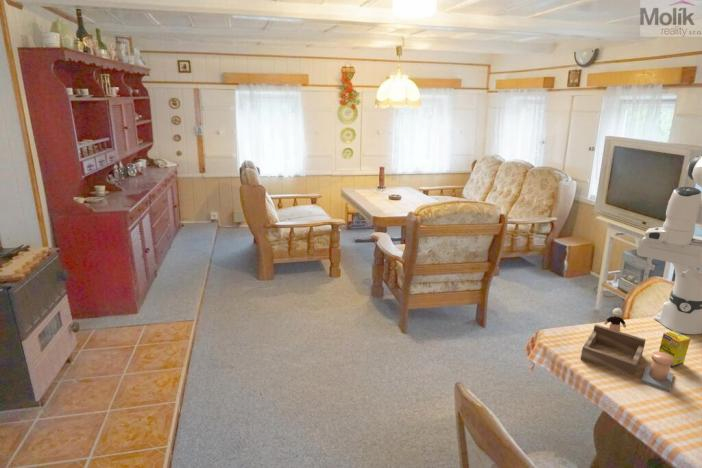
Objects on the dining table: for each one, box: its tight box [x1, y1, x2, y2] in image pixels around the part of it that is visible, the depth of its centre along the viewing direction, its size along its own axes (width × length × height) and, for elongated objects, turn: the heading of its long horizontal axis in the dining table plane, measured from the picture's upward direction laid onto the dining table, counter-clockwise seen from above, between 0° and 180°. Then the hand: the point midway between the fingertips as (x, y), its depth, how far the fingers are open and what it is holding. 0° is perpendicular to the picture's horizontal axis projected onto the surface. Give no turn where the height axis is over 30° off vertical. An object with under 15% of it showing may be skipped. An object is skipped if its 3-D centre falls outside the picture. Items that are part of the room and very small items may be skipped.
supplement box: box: [658, 330, 691, 368], centre depth 164 cm, size 6×6×11 cm
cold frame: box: [580, 323, 646, 378], centre depth 167 cm, size 17×17×7 cm
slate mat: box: [640, 364, 675, 393], centre depth 156 cm, size 11×8×1 cm
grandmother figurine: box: [603, 307, 627, 332], centre depth 179 cm, size 8×4×13 cm, turn 84°
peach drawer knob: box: [649, 350, 674, 381], centre depth 154 cm, size 6×6×8 cm
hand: (667, 273), depth 157 cm, fingers open, 8 cm apart
